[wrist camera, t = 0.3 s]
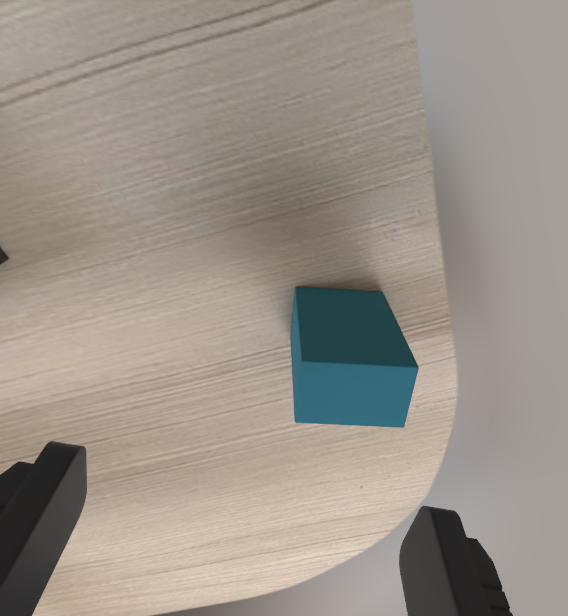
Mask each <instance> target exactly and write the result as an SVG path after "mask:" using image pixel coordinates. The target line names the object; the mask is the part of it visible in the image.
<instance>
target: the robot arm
mask: <svg viewBox="0 0 568 616" xmlns="http://www.w3.org/2000/svg"><path fill="white" fill-rule="evenodd" d="M86 493H87V471H86V448H85V447H83V446H78V445H72V444H66V443H60V442H54V441H51V442H49V443H48V444H47V445H46V446H45V447H44V449H43V450H42V452H41V453H40V455H39V456H38V458H37V459H36V461H35V463H34V464H31V463H25V462H17V463H16V464H15V465H13V466H12V467H11V468H9V469H8V470H6V471H5V472H4V473H2V474H1V475H0V616H32V614H33V612H34V610H35V608H36V606H37V604H38V601H39V599H40V597H41V595H42V593H43V591H44V589H45V587H46V585H47V583H48V581H49V579H50V577H51V575H52V573H53V571H54V569H55V566H56V564H57V562H58V560H59V558H60V556H61V554H62V552H63V550H64V548H65V546H66V544H67V542H68V540H69V538H70V536H71V534H72V531H73V529H74V527H75V525H76V523H77V521H78V519H79V517H80V514H81V512H82V509H83V506H84V503H85V498H86ZM399 566H400V574H401V579H402V584H403V590H404V596H405V601H406V607H407V612H408V616H513V615H512V613H510V611H509V608H510V607H509V604H508V601H507V599H506V596H505V593H504V592H502V585H501V582H500V580H499V577H498V574H497V571H496V569H495V566H494V563H493V561H492V560H491V558H490V557H489V556H488V555H487V553H486V551H485V550H484V549H483V547H482V546H481V544H480V543H479V542H478V540H477V539H473V538H467V537H466V535H465V531H464V528H463V525H462V522H461V519H460V517H459V515H458V514H457V513H456V512H455V511H452V510H446V509H440V508H435V507H428V506H422V507H421V508H420V510H419V512H418V514H417V516H416V518H415V519H414V521H413V523H412V525H411V527H410V529H409V531H408V533H407V535H406V537H405V538H404V540H403V542H402V545H401V549H400V557H399Z"/></svg>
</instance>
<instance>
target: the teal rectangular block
mask: <svg viewBox="0 0 568 616" xmlns="http://www.w3.org/2000/svg"><path fill="white" fill-rule="evenodd" d="M291 356H292V376H293V396H294V416H295V422H296V423H318V424H339V425H360V426H381V427H402V428H403V427H404V425H405V421H406V417H407V413H408V409H409V405H410V401H411V397H412V393H413V389H414V385H415V380H416V376H417V372H418V368H419V367H418V365H417V363H416V361H415V359H414V357H413V354H412V352H411V350H410V348H409V346H408V344H407V342H406V340H405V338H404V336H403V333H402V331H401V329H400V327H399V325H398V323H397V321H396V319H395V317H394V315H393V312H392V310H391V308H390V306H389V304H388V302H387V300H386V298H385V296H384V294H383V292H374V291H357V290H340V289H324V288H307V287H295V294H294V305H293V316H292V327H291Z"/></svg>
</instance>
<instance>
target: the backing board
mask: <svg viewBox="0 0 568 616" xmlns="http://www.w3.org/2000/svg"><path fill="white" fill-rule="evenodd" d="M6 260H8V258H7V256H6V255H5V254H4V253H3V251H2V250H1V249H0V265H1V264H2V263H3V262H5V261H6Z"/></svg>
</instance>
